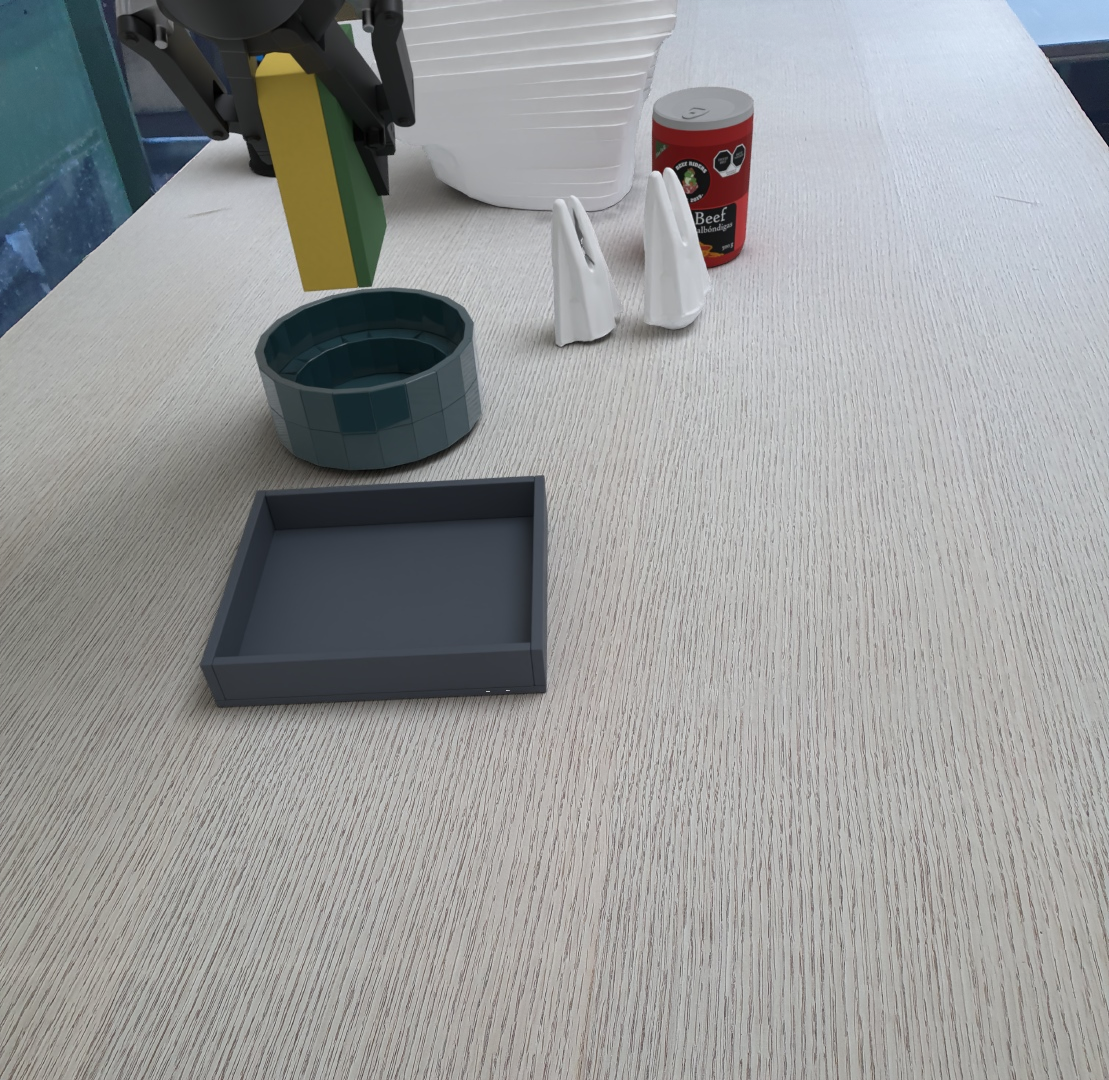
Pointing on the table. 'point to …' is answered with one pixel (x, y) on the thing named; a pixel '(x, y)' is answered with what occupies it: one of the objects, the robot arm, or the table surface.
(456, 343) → the bowl
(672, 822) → the table surface
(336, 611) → the tray
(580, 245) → the shaker set
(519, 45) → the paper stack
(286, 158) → the sponge
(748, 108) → the canned food
